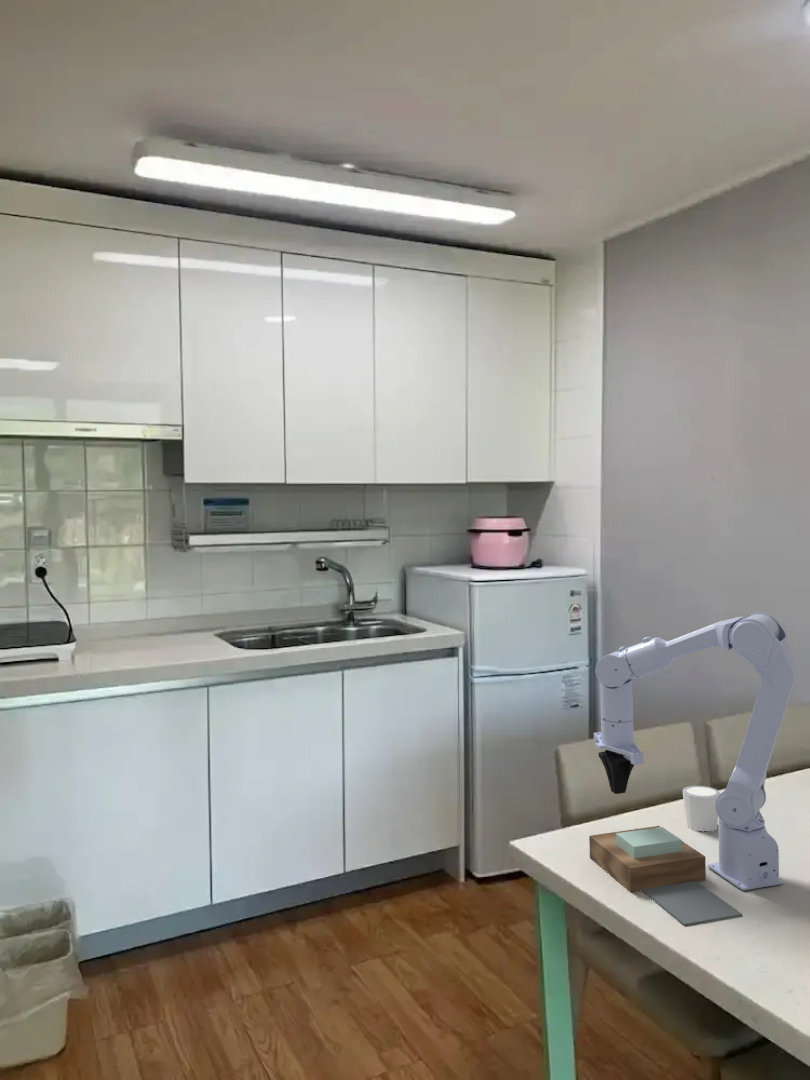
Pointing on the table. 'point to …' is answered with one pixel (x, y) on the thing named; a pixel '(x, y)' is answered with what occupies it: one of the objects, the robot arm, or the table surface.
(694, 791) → the white short cylinder
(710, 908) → the mat
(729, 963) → the table surface
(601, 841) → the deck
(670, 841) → the mint green flat block
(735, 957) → the table surface
